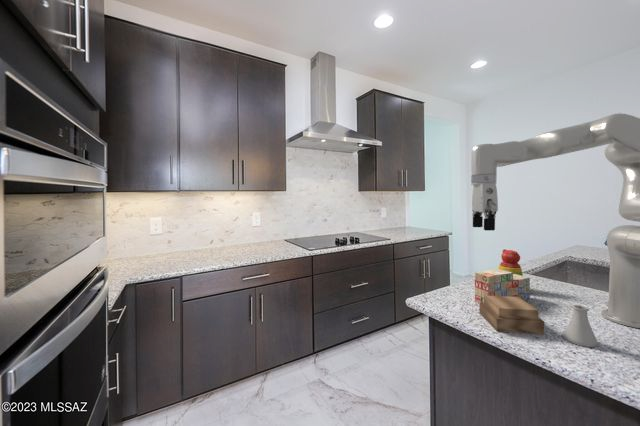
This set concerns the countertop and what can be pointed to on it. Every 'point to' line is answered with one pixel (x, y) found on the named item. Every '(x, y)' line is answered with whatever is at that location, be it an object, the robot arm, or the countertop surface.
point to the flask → (580, 328)
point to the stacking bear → (510, 262)
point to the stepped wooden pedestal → (511, 315)
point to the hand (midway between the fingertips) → (483, 228)
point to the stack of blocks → (501, 285)
